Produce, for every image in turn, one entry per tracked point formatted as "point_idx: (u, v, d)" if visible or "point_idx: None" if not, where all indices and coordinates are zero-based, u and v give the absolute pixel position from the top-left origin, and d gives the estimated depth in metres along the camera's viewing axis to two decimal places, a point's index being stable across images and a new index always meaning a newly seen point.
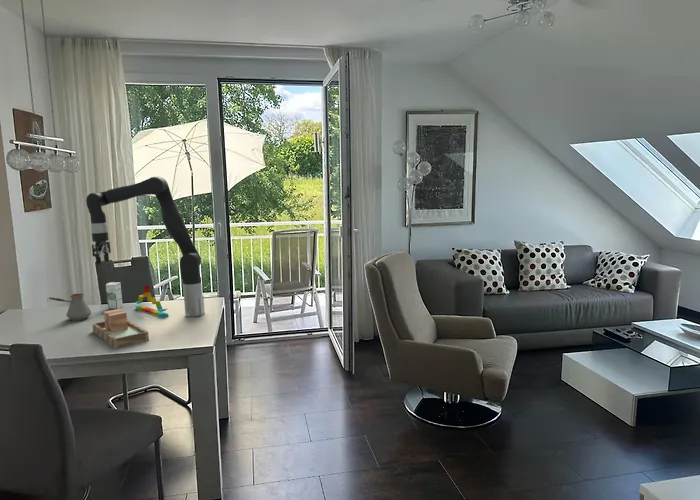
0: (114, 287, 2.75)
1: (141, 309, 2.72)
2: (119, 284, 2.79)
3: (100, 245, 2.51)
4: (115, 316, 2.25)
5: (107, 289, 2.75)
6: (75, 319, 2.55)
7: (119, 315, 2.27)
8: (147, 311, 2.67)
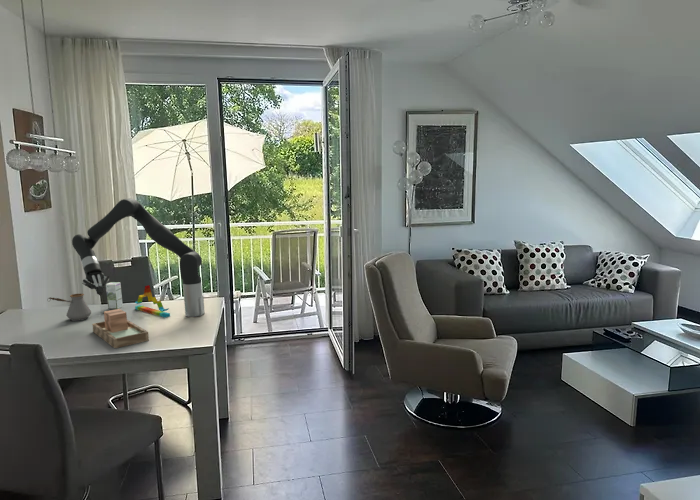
0: (114, 287, 2.75)
1: (141, 309, 2.72)
2: (119, 284, 2.79)
3: (89, 276, 2.46)
4: (115, 316, 2.25)
5: (107, 289, 2.75)
6: (75, 319, 2.55)
7: (119, 315, 2.27)
8: (148, 311, 2.67)
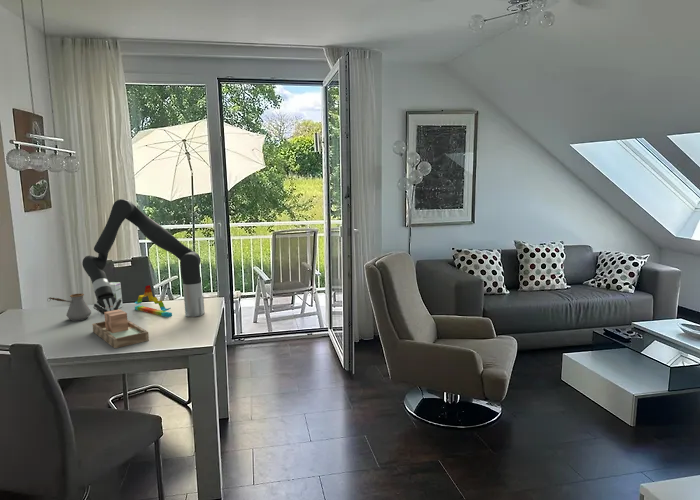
0: (114, 287, 2.75)
1: (141, 309, 2.72)
2: (119, 284, 2.79)
3: (100, 300, 2.36)
4: (115, 316, 2.25)
5: None
6: (75, 319, 2.55)
7: (120, 316, 2.26)
8: (148, 311, 2.68)
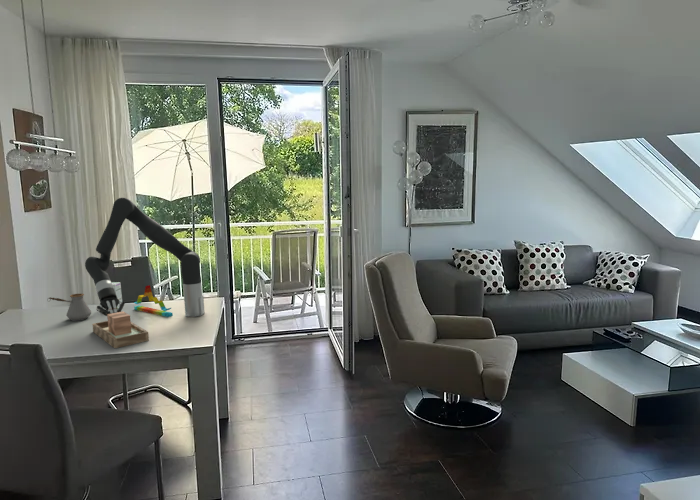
0: (114, 287, 2.75)
1: (141, 309, 2.71)
2: (119, 284, 2.79)
3: (103, 302, 2.32)
4: (119, 319, 2.21)
5: None
6: (75, 319, 2.55)
7: (123, 318, 2.22)
8: (148, 311, 2.68)
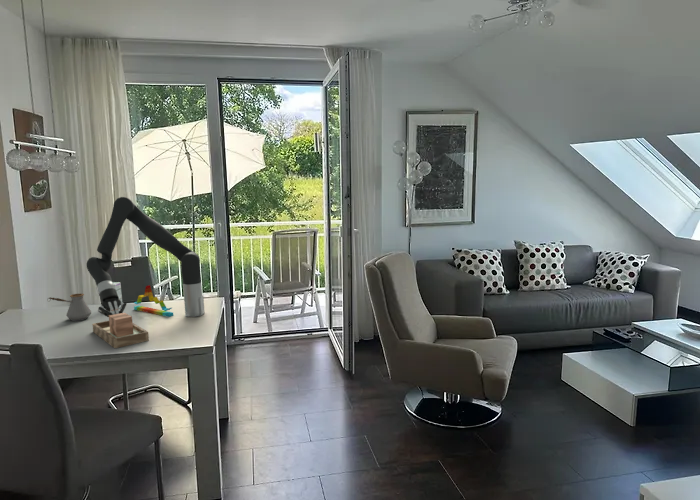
0: None
1: (141, 309, 2.71)
2: (119, 284, 2.79)
3: (105, 303, 2.30)
4: (120, 320, 2.18)
5: None
6: (75, 319, 2.55)
7: (125, 319, 2.19)
8: (149, 311, 2.68)
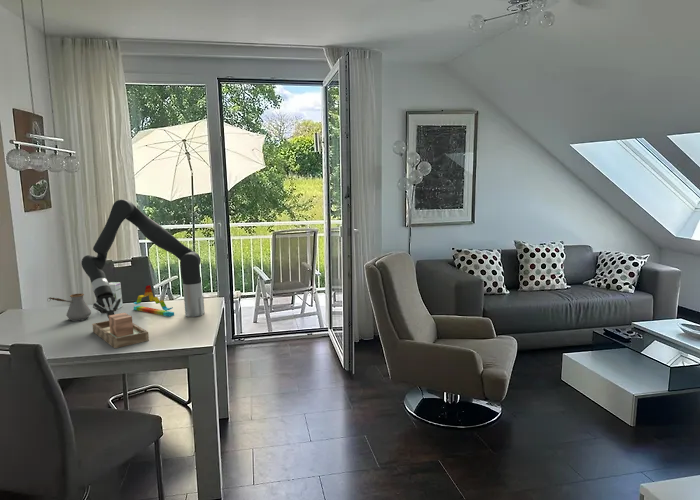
0: (114, 287, 2.75)
1: (141, 309, 2.71)
2: (119, 284, 2.79)
3: (99, 300, 2.36)
4: (120, 320, 2.18)
5: None
6: (75, 319, 2.55)
7: (125, 319, 2.19)
8: (149, 311, 2.68)
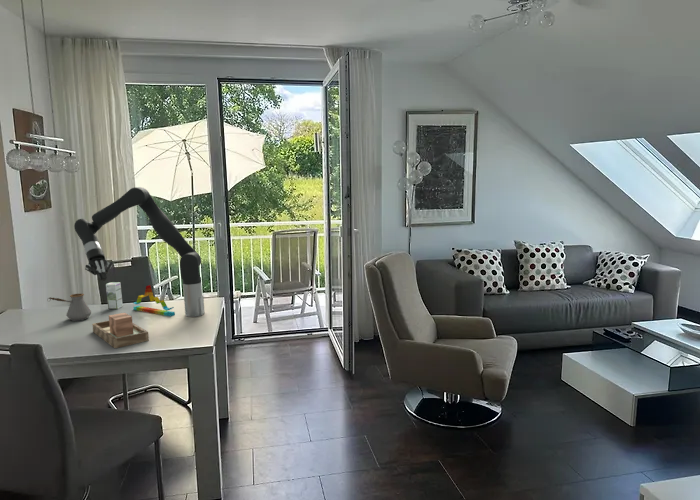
0: (114, 287, 2.75)
1: (141, 309, 2.71)
2: (119, 284, 2.79)
3: (92, 262, 2.40)
4: (120, 320, 2.18)
5: (107, 289, 2.75)
6: (75, 319, 2.55)
7: (125, 319, 2.19)
8: (149, 311, 2.68)
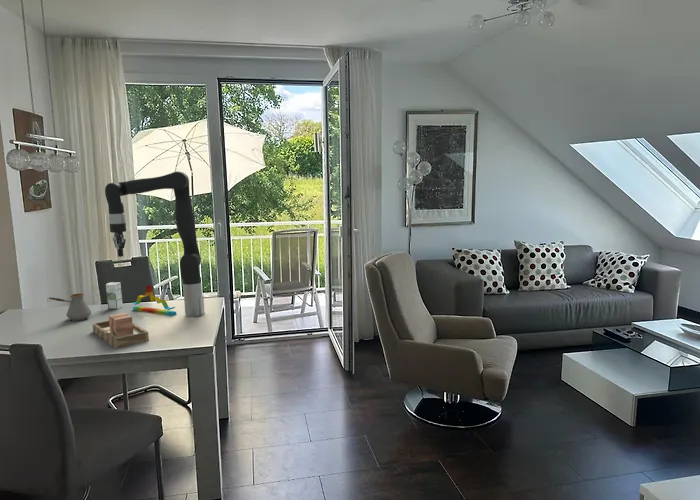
0: (114, 287, 2.75)
1: (141, 309, 2.71)
2: (119, 284, 2.79)
3: None
4: (120, 320, 2.18)
5: (107, 289, 2.75)
6: (75, 319, 2.55)
7: (125, 319, 2.19)
8: (149, 311, 2.68)
